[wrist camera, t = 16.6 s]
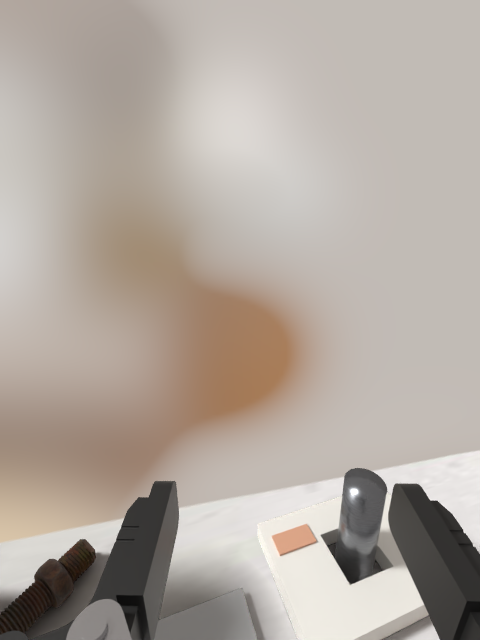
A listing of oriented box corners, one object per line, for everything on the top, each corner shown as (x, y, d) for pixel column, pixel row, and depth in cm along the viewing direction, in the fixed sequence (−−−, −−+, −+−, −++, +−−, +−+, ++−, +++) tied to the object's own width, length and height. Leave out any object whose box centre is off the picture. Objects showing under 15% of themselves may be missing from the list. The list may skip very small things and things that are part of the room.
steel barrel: (331, 573, 37) (341, 491, 33) (338, 541, 41) (347, 463, 37) (370, 592, 36) (386, 507, 31) (373, 556, 39) (387, 476, 35)
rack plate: (311, 675, 29) (313, 657, 28) (257, 537, 42) (257, 522, 41) (466, 595, 35) (472, 579, 34) (378, 495, 48) (380, 481, 47)
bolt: (97, 572, 40) (-53, 733, 27) (72, 542, 41) (-81, 682, 28) (107, 555, 37) (-54, 725, 24) (81, 522, 38) (-85, 668, 26)
